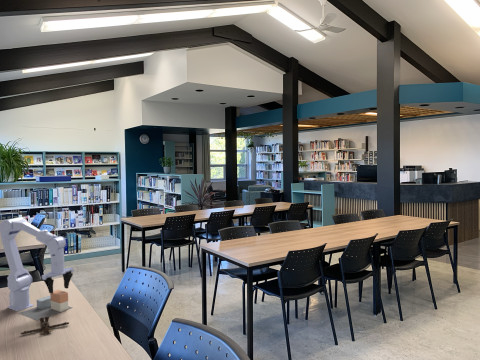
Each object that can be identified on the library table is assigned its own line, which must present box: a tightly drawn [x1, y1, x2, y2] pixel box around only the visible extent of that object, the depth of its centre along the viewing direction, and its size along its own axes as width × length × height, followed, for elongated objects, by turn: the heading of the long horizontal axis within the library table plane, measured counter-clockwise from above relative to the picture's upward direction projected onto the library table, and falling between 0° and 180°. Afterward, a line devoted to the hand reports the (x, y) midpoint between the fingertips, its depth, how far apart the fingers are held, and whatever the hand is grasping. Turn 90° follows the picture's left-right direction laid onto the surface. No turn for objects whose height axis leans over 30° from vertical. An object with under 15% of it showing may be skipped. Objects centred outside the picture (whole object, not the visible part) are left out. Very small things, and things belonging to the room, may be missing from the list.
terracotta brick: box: [49, 289, 69, 303], centre depth 174 cm, size 8×4×4 cm, turn 58°
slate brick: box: [36, 295, 51, 310], centre depth 178 cm, size 8×4×4 cm, turn 147°
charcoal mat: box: [17, 305, 73, 322], centre depth 173 cm, size 17×17×1 cm
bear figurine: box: [20, 316, 70, 335], centre depth 154 cm, size 18×4×14 cm
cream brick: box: [51, 300, 69, 313], centre depth 174 cm, size 8×4×4 cm, turn 57°
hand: (58, 290), depth 174 cm, fingers open, 7 cm apart
